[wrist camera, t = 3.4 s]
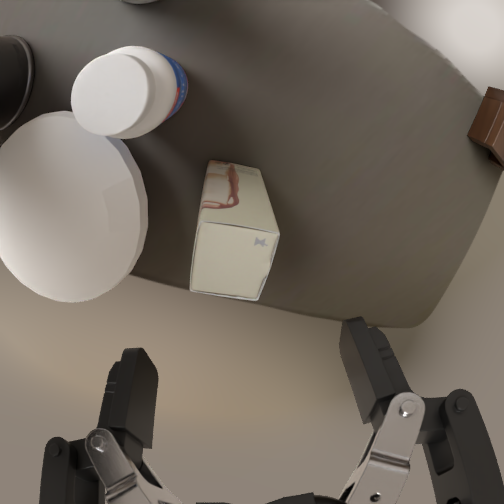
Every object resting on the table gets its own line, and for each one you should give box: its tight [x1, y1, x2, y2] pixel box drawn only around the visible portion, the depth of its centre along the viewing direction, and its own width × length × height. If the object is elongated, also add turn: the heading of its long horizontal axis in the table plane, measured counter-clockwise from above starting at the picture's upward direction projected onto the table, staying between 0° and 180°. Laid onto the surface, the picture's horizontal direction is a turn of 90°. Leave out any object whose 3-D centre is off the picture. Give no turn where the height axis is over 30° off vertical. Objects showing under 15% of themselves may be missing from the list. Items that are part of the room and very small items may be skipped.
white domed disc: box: [0, 111, 148, 303], centre depth 19 cm, size 16×16×7 cm
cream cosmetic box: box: [190, 160, 280, 301], centre depth 20 cm, size 5×4×10 cm
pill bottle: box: [71, 46, 188, 139], centre depth 14 cm, size 6×5×10 cm
